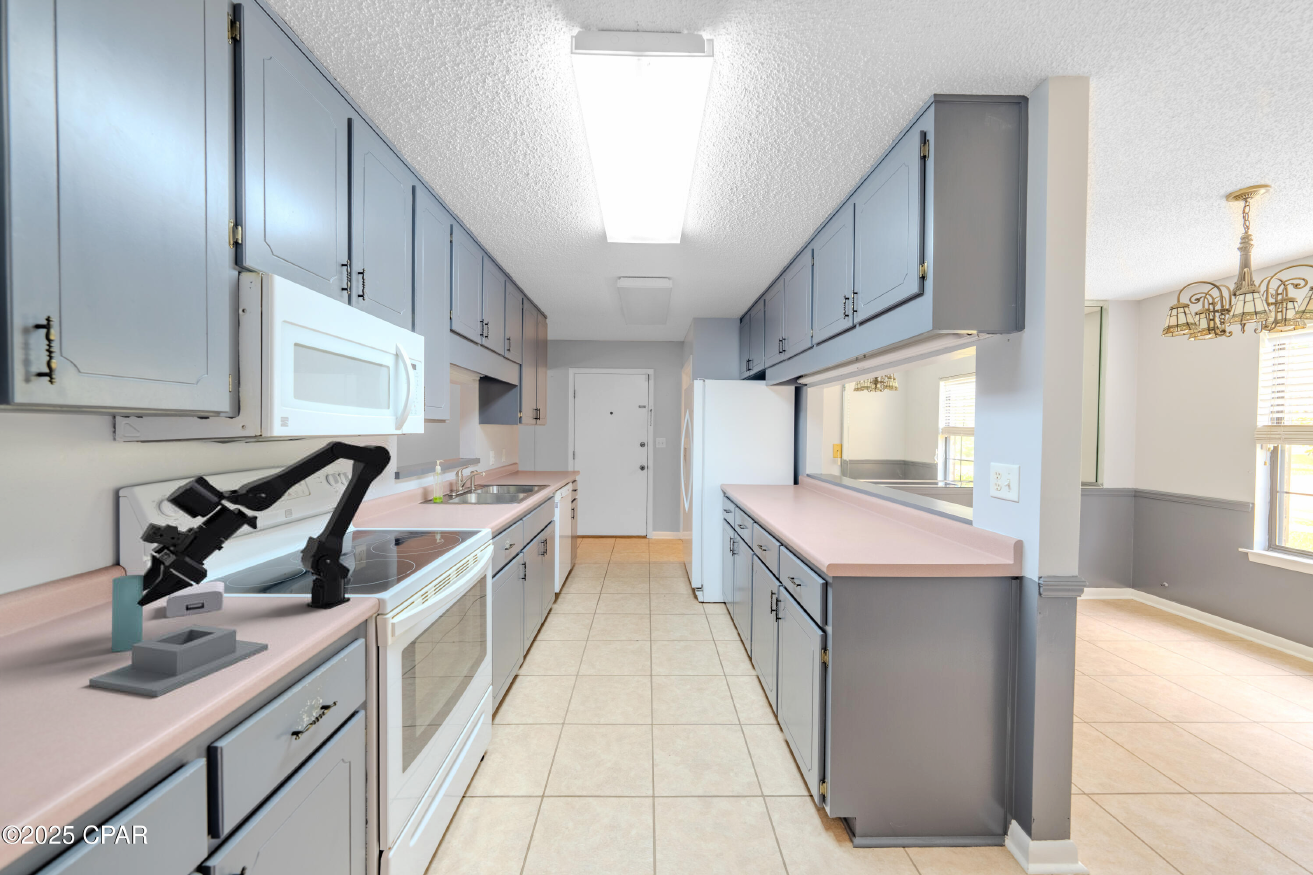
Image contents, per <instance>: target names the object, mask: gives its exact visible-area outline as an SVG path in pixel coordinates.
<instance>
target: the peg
mask: <svg viewBox="0 0 1313 875" xmlns="http://www.w3.org/2000/svg"><path fill="white" fill-rule="evenodd" d="M111 580H112V581H111V583H112V585H111V586H112V590H111V591H112V592H111V594H112V596H111V597H112V600H111V605H112V606H111V616H112V617H111V652H113V653H119V652H120V653H121V652H127V651H132V645H133V644H136V643H139V642H142V641H144V640H143V639H144V638H143V631H144V627H143V625H144V624H143V622H144V620H143V618H144V616H143V614H144V611H143V610H144V608H143V607H144V606H140V605H138V604H137V602H138V601H139V600H140V599H141V597H142V596H143V595H144V592H143V574H128V575H121V576H117V577H114V578H112V579H111Z"/></svg>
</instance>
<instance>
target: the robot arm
mask: <svg viewBox="0 0 1313 875" xmlns="http://www.w3.org/2000/svg"><path fill="white" fill-rule="evenodd" d="M340 459H343V460H346V461H353V462H352V464H351V465H352V467H351V468H352V470H351V477H350V479H349V481H348V483H347V485H346V486H345V488H344V490H343V491H342V494H341V496H340V498H339V500H338V501H337V503H336V505H335V507H334V510H333V511H332V513H331V515H330V517H329V519H328V521H327V522H326V525H325V527H324V529H323V530H322V532H321V533H320V534H318V535H317V536H316V537H313V536H309V537H308V539H307V540H306V544H305V545H304V547H303V549H301V551H300V552H299V553H301V554H302V555H301V557H300V563H301V565H302V566H303V568H304V569H306V570H308V571H309V572H310V575H311V576H312V577H315V578H314V579H312V586H311V588H310V589H311V590H310V591H311V592H310V594H311V595H310V602H307V603H306V606H307V607H315V608H322V609H323V608H324V609H332V608H334V607H335V606H336V607H337V606H338V605H341V604H344V603H346V602H349V601H351V600H350V599H351V597H347V596H346V579H348V577H349V574H350V572H351V569H350V568H349V567H347V565H344V564H343V563H342V562H340V561H341V557H342V554H343V548H344V538H345V536H346V534H347V531H348V530H349V528H350V526H351V524H352V522H353V520H354V518H355V516H356V514H357V512H358V510H359V509H360V506H361V504H362V502H363V500H364V498H365V496H366V494H367V492H368V490H369V489H370V486H372V485H371V484H373V482H374V481H375V480H376V479H377V478H378V477H380V476H381V475H382V474H383V472H384V471H385V470H386V468H387V467H388V466H389V464H390V462H391V460H392V456H391V454H390V451H389V450H388V448H386V447H385V446H383V445H373V444H366V445H362V446H361V445H357V444H351V443H347V442H344V441H341V440H340V441H339V440H332V441H329V442H327V443H326V444H325V445H324V446H323V447H320V448H318V449H317V450H315V451H313V452H311V453H310V454H307V455H306V456H305V457H302V458H301V459H299V460H297V461H295V462H294V463H292V464H290V465H289V466H287V467H285V468H283V469H281V470H280V471H278V472H276V473H272V474H270V475H269V474H268V475H266V476H262V477H259V478H256V479H253V480H252V481H251V480H250V481H249V482H246V483H244V484H242V485H240V486H239V487H238V488H237V489H230V490H224V491H222V490H220V489H218V488H217V487H216V486H214V485H212V484H211V483H210V482H209V480H207V479H206V478H205V477H204V476H203V475H197V476H196V477H195V478H193V479H192V480H189V481H187V482H186V483H184V484H183V485H180V486H178V487H177V488H175V489H174V490H173V491H172V492H171V493H170V494H169V495H168V496H167V497H166V500H165V501H166V502H167V503H170V504H171V505H172V506H174V507H175V508H176V509H178V510H180V511H181V512H182V513H184V514H185V515H187V516H188V517H190V518H191V519H196V518H199V517H200V518H202V519H204V518H205V519H204V520H203V521H201V523H199V524H198V525H197V526H196V527H194V526H189V527H188V528H187V529H186V530H185V531H183V530H180V529H179V527H178V526H177V525H171V524H169V523H167V524H165V525H162V524H157V523H153V522H149V524H148V526H147V527H146V528H145V530H144V531H143V533H142V535H141V537H140V540H141V541H142V542H144V543H147V544H157V545H156V546H154V547H153V548H152V549H151V551H152V552H153V553H150V554H149V557H150V565H149V567H148V568H147V569H146V571H145V572H144V573H143V574H142V575H143V596H142V597H141V599H140V600H139V601H138V602H137V604H138V605H140V606H143V607H145V606H147V605H149V604H152V603H154V602H157V601H159V600H161V599H164V598H166V597H169V595H171V594H173V593H175V592H178V591H180V590H183V589H185V588H188V587H192V586H194V584H197V585H198V584H200V583H202V582H203V581H204V580H205V579H207V577H208V569H207V568H206V567H204V566H205V563H204V562H205V561H206V560H208V558H209V557H210V556H212V555H213V554H214V553H215V552H217V551H218V552H220V551H222V549H223V548H225V547H224V546H223V545H224V544H226V542H227V541H228V540H230V539H231V538H232V537H233V536H234V535H236V534H237V533H238V532H239V531H240V530H241V529H243V527H244V526H247V527H248V528H251V529H252V530H258V522H257V521H258V518H259V517H258V516H257V515H255V514H252V515H249V514H248V513H246V512H245V511H243V510H242V509H240V507H241V508H243V509H247V510H248V511H251V512H265V511H266V510H269V509H270V508H271V507H273V505H275V504H276V503H277V502H278V501H280V500H281V499H282V498H283V497H284V496H285V495H286V494H287V492H288V491H290V489H292V488H293V487H295V486H296V485H298V484H299V483H301V482H303V481H305V480H306V479H308V478H310V477H312V476H313V475H315V474H316V473H318V472H320V471H322V470H323V469H325V468H327V467H328V466H330V465H332V464H333V463H336V462H337V461H338V460H340ZM223 502H226V503H229V504H232V505H234V506H240V507H235V508H232V509H231V507H228V506H227V505H226V504H224V503H223ZM206 517H207V518H206ZM154 553H155V554H154ZM145 591H146V592H145ZM144 592H145V593H144Z"/></svg>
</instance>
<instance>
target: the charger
mask: <svg viewBox="0 0 1313 875" xmlns="http://www.w3.org/2000/svg"><path fill="white" fill-rule="evenodd" d="M193 584H194V586H192V587H188V588H185V589H183V590H180V591H178V592H175V593H173V594H171V595H168V596H167V600H166V601H165V602H166V607H165V608H166V610H165V611H166V614H165V615H166V617H167V618H177V617H183V615H185V616H192V615H197V614H203V613H210V612H219V611H221V610H222V608H223V606H224V605H223V604H224V599H225V583H224V582H223V581H210V582H203V583H202V582H201V583H200V584H198V585H197V584H195V583H193Z"/></svg>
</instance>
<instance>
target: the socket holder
mask: <svg viewBox="0 0 1313 875" xmlns="http://www.w3.org/2000/svg"><path fill="white" fill-rule="evenodd" d="M267 649H268V650H269V644H268V643H262V642H257V641H256V642H255V641H249V640H243V639H242V640H241V639H237V629H233V628H226V627H219V626H212V625H211V626H210V625H203V624H202V625H201V624H195V623H194V624H191V625H187V626H185V627H182V628H179V629H175V630H173V631H170V632H167V633H163V634H161V635H158V636H154V637H151V638H149V639H146V640H143V641H142V642H139V643H136V644H133V645H132V650H131V663H130V664H127V665H125V666H122V667H119V668H116V669H114V670H110V671H108V672H105V673H102V674H99V675H96V676H94V677H91V678H89V680H88V682H89V683H88V684H89V686H92V687H98V688H103V689H109V690H114V691H121V692H126V693H132V694H137V695H138V694H139V695H144V696H148V697H149V696H150V697H157V698H158V697H160V696H163V695H166V694H168V693H170V692H172V691H175V690H177V689H178V688H181V687H184V686H186V685H188V684H191V683H193V682H196V681H198V680H200V679H202V678H205V677H207V676H209V675H212V674H214V673H216V672H218V671H221V670H223V669H226V668H228V667H230V666H232V665H236V664H237V663H240V662H242V661H245V660H247V659H248V658H247V657H249V658H250V656H251V657H253V656H252V655H254V654H256V653H258V654H261V653H262V652H261V651H263V652H265V651H267ZM264 650H265V651H264ZM260 652H261V653H260ZM256 655H257V654H256ZM254 656H255V655H254ZM246 658H247V659H246ZM239 661H240V662H239Z"/></svg>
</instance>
